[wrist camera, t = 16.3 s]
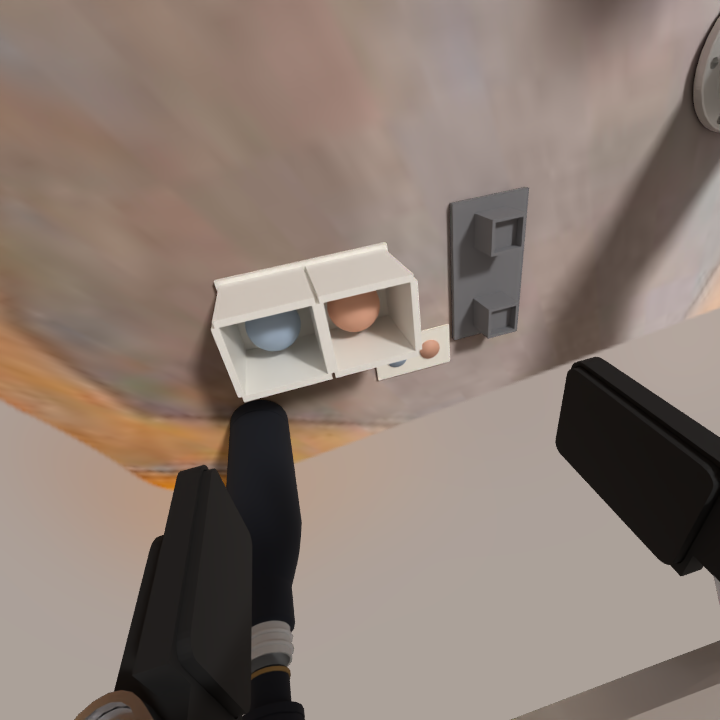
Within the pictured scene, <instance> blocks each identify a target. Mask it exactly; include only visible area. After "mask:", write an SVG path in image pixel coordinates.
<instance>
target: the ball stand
mask: <svg viewBox="0 0 720 720" xmlns="http://www.w3.org/2000/svg"><path fill="white" fill-rule="evenodd" d="M528 194H529V188H528V187H523V188H518V189H514V190H509V191H504V192H500V193H495V194H490V195H486V196H481V197H476V198H472V199H467V200H462V201H458V202H453V203H450V240H451V293H452V338H453V339H454V340H457V339H461V338H465V337H469V336H472V335H476V334H480V333H482V334H483V335H485V336H486V337H487V338H492V337H496V336H500V335H503V334H507V333H511V332H515V331H517V323H518V311H519V300H520V288H521V276H522V265H523V253H524V241H525V229H526V218H527V206H528Z"/></svg>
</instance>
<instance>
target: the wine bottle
mask: <svg viewBox="0 0 720 720" xmlns="http://www.w3.org/2000/svg"><path fill="white" fill-rule="evenodd" d="M226 489H227V491H228V493H229V495H230V496H231V498H232V500H233V502H234V504H235V506H236V508H237V510H238V512H239V514H240V515H241V517H242V519H243V521H244V523H245V525H246V527H247V529H248V531H249V533H250V536H251V540H252V637H251V705H250V710H249V712H248V713H246V714H245V715H243V716H242V720H305V719H304V718H305V715H304V708H303V706H302V705H301V704H299V703H297V702H292V701H291V691H290V676H291V674H290V670H289V668H287V666H288V665H289V664H290V663H291V662H292V654H293V651H294V647H293V644H292V643H291V642H292V639H293V635H292V633H291V632H292V631H293V629H294V625H295V618H294V607H293V596H292V583H293V579H294V574H295V570H296V566H297V561H298V556H299V549H300V539H301V524H302V522H301V514H300V507H299V499H298V492H297V485H296V477H295V469H294V462H293V454H292V447H291V439H290V432H289V424H288V418H287V415H286V412H285V411H284V409H283V408H282V407H281V406H279V405H278V404H276V403H274V402H271V401H267V400H254V401H250V402H247V403H245V404H243V405H242V406H240V407H239V408H238V409H237V410H236V411H235V412H234V413H233V415H232V418H231V422H230V437H229V453H228V468H227V484H226Z"/></svg>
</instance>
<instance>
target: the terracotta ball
mask: <svg viewBox="0 0 720 720" xmlns="http://www.w3.org/2000/svg"><path fill="white" fill-rule="evenodd" d="M327 310H328V314H329V316H330V318H331V320H332V322H333V323H334V324H335V325H336V326H337V327H339V328H340V329H342V330H345V331H348V332H359V331H362V330H365V329H367V328H368V327H370V326H371V325H372V324H373V323H374V322H375V320H376V318H377V317H378V314H379V310H380V301H379V297H378V294H377V292H376V291H371V292H367V293H363V294H359V295H354V296H350V297H346V298H342V299H338V300H333V301H329V302H327Z"/></svg>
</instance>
